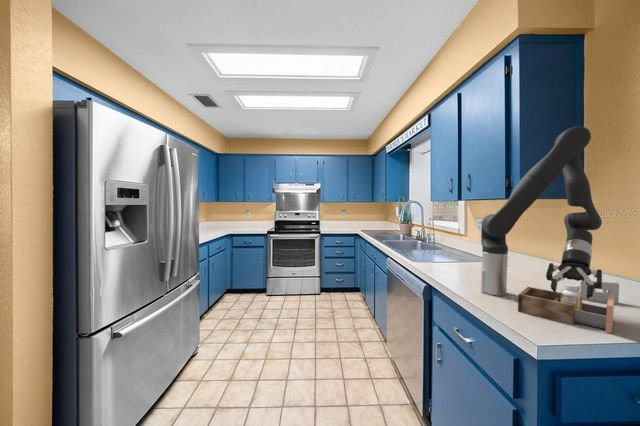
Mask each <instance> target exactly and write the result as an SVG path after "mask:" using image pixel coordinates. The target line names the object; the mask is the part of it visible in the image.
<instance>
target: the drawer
mask: <svg viewBox="0 0 640 426" xmlns="http://www.w3.org/2000/svg"><path fill="white" fill-rule="evenodd" d="M554 301H558V302H561V299H560V298H556V299H555V300H554ZM614 309H615V303H614V295H609V298H608V302H606V307H605V306H600V305H595V304H589V303H584V302H582V311H581V310H576V309H574V317H573V323H574V322H575V323H580V324H582V325H588V326H591V327H596V328H600V329H604V330H605V332H606V333H609V334H612V332H613V324H614V314H615V311H614Z"/></svg>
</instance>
